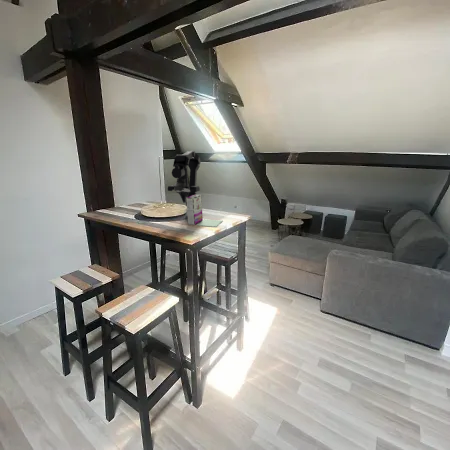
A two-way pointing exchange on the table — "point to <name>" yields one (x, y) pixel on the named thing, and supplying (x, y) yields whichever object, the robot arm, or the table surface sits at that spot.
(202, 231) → the table surface
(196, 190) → the robot arm
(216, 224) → the mat
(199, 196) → the candy bar box
